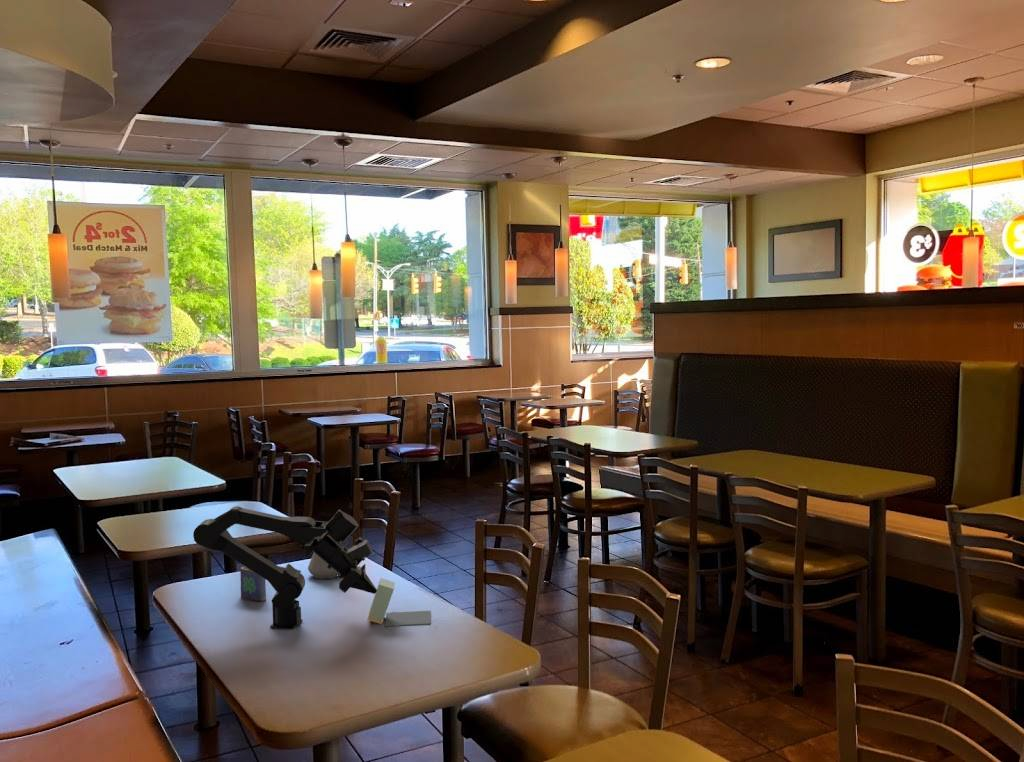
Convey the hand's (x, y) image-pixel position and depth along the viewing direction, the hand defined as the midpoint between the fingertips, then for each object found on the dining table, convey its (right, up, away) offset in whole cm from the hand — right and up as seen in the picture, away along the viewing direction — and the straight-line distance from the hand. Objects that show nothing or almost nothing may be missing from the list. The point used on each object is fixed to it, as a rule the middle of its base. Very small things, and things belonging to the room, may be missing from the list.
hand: (375, 592), depth 231 cm
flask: (-39, -7, +20) cm, 45 cm away
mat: (+9, -8, +1) cm, 12 cm away
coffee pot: (-20, -6, +38) cm, 43 cm away
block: (0, -7, +1) cm, 7 cm away
